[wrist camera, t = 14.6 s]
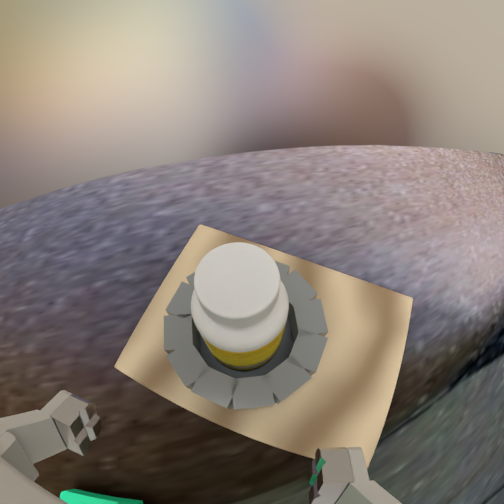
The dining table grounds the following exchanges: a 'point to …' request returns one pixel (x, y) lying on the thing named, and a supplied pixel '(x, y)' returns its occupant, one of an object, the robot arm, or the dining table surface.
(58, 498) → the robot arm
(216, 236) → the board
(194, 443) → the dining table surface
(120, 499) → the camera mount
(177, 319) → the fire pit
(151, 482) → the dining table surface
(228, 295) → the supplement bottle
